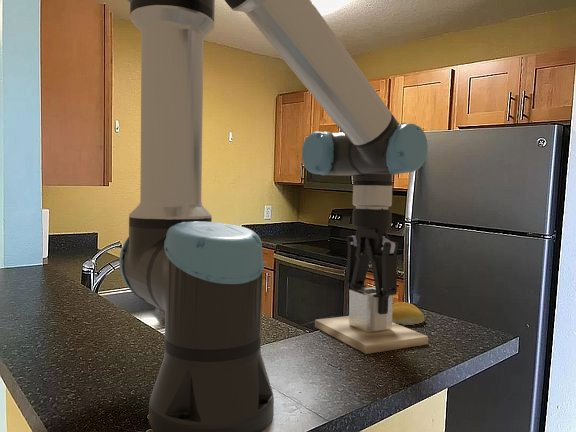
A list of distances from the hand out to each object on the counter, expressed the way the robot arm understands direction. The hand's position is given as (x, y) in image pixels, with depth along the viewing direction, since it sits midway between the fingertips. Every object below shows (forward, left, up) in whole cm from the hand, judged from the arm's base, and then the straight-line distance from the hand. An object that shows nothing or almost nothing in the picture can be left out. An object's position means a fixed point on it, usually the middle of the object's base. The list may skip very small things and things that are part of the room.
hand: (368, 325), depth 93 cm
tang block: (0, 0, -2) cm, 2 cm away
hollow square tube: (0, 0, 0) cm, 0 cm away
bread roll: (+6, -14, -2) cm, 16 cm away
